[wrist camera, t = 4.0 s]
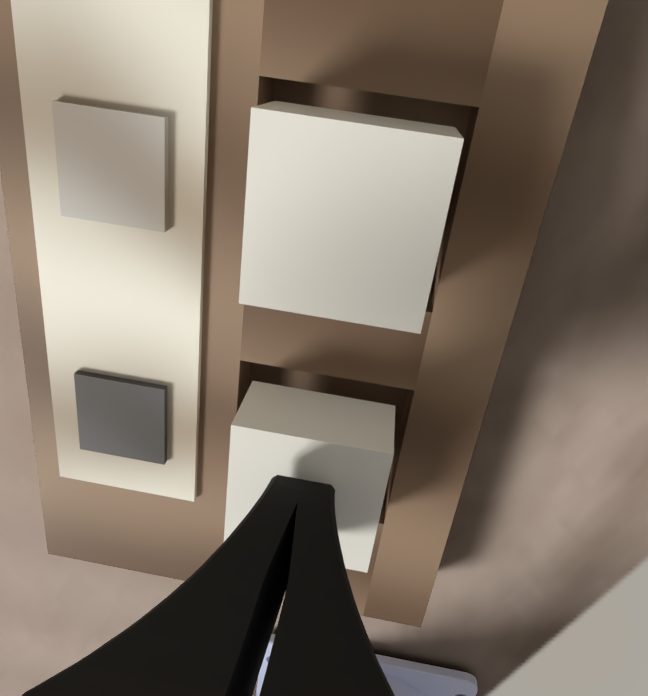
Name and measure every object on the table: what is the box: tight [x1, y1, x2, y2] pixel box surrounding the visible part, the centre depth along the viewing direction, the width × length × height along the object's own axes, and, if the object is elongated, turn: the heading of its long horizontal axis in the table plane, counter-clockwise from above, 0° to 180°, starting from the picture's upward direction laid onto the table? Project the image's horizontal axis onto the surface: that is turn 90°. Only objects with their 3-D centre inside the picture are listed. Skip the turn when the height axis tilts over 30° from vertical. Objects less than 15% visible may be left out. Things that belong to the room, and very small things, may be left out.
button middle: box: [239, 101, 464, 334], centre depth 11 cm, size 4×4×2 cm
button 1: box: [224, 381, 395, 573], centre depth 14 cm, size 4×4×2 cm
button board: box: [0, 0, 608, 627], centre depth 13 cm, size 25×12×2 cm, turn 173°
